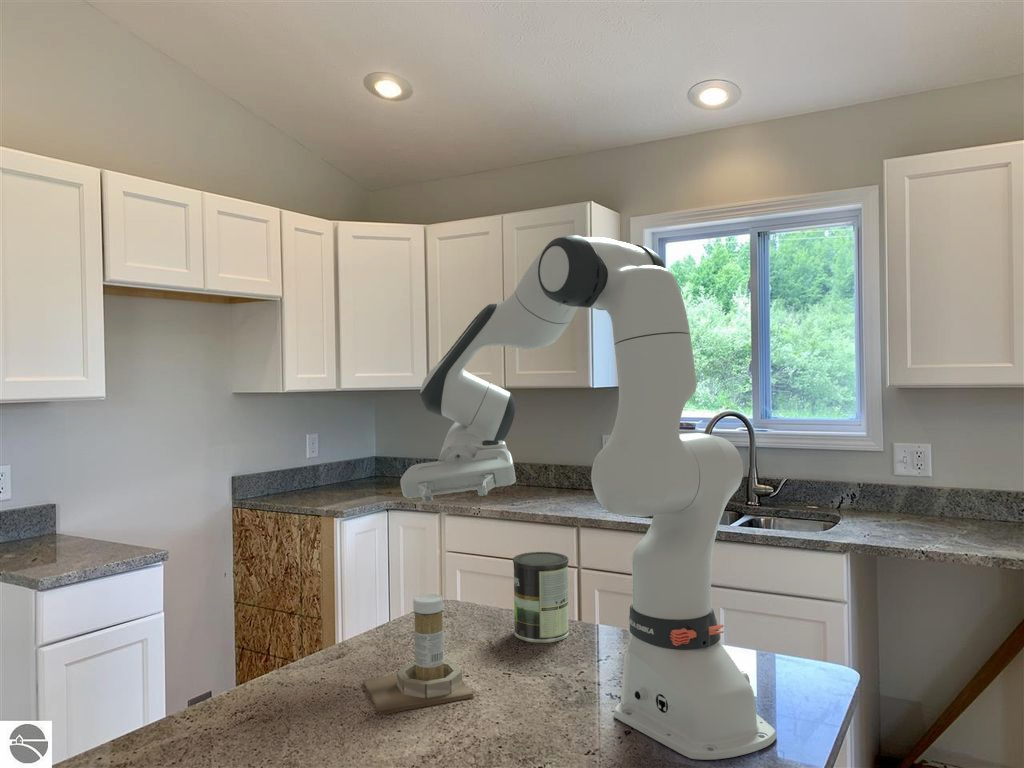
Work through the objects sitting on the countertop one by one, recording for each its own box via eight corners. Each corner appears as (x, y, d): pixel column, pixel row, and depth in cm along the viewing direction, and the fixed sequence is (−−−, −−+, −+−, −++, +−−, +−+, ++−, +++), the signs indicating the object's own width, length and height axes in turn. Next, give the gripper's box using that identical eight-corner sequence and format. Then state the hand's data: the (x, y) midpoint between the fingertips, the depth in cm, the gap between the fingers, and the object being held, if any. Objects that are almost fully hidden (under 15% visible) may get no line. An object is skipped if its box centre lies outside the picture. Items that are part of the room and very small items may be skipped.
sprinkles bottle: (438, 676, 118) (436, 591, 118) (449, 686, 114) (447, 598, 114) (410, 681, 116) (409, 595, 116) (420, 692, 112) (419, 603, 112)
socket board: (473, 697, 112) (473, 679, 112) (380, 715, 106) (380, 696, 106) (448, 669, 123) (448, 653, 123) (363, 683, 117) (363, 667, 117)
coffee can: (511, 642, 135) (510, 564, 134) (516, 624, 145) (515, 551, 145) (568, 644, 134) (567, 565, 133) (570, 625, 144) (569, 551, 144)
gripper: (404, 454, 139) (389, 486, 125) (513, 439, 137) (510, 470, 124) (410, 485, 140) (397, 519, 127) (518, 470, 139) (516, 504, 126)
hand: (454, 495), depth 125 cm, fingers open, 8 cm apart
